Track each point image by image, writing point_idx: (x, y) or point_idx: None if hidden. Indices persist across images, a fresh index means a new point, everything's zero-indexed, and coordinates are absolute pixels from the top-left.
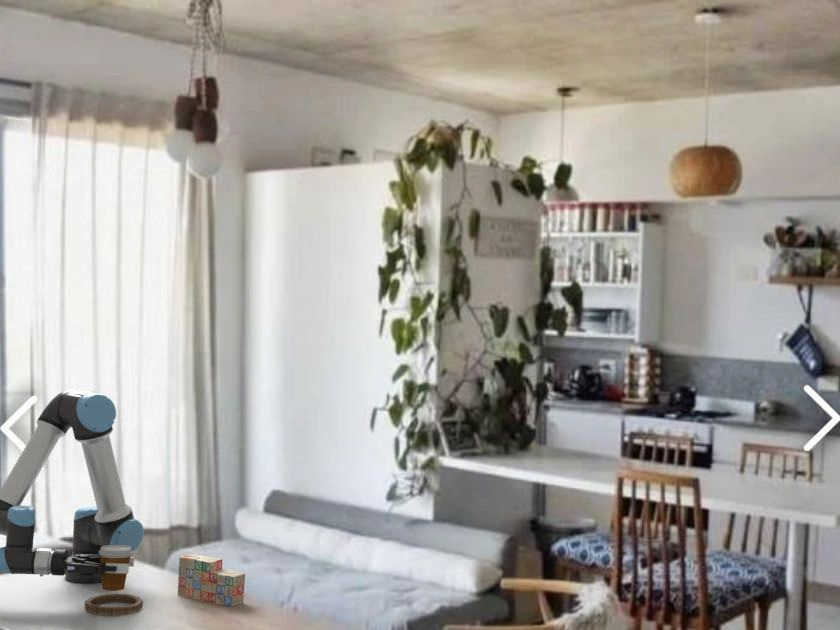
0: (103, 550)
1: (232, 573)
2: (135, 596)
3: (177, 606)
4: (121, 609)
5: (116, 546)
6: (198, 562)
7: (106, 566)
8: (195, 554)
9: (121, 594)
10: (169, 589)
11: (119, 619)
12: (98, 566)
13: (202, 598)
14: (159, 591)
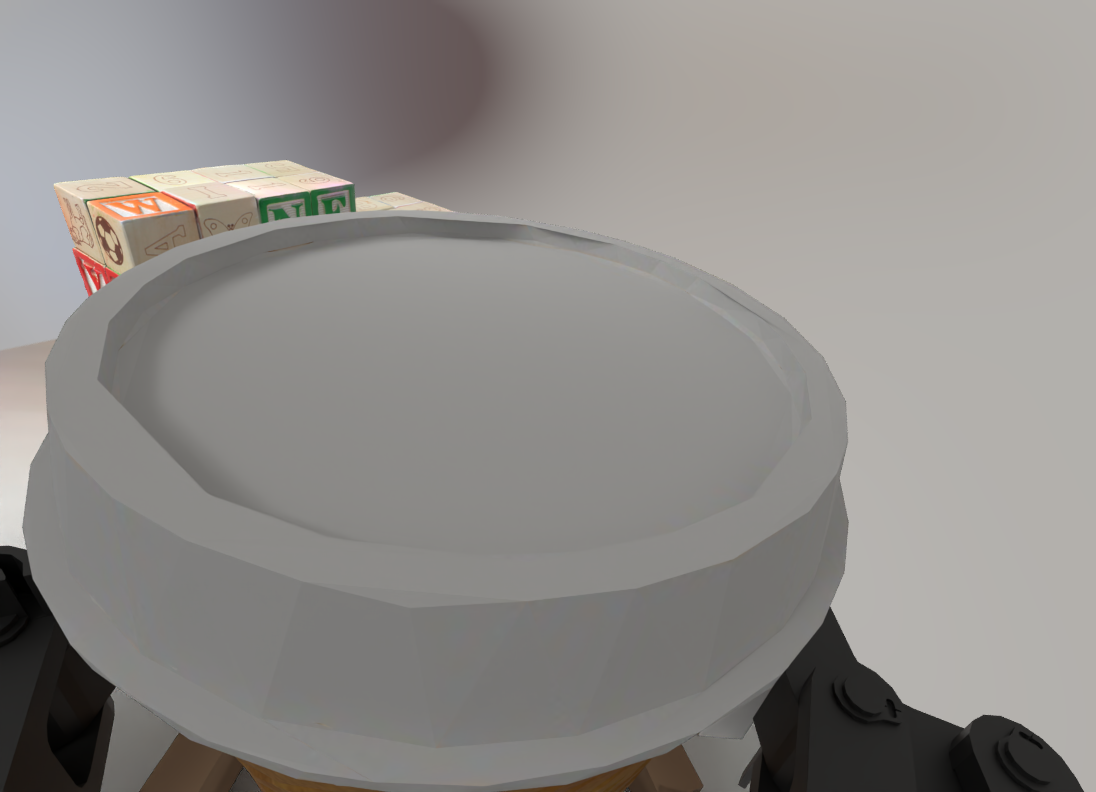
0: (812, 525)
1: (392, 206)
2: None
3: None
4: None
5: (186, 317)
6: (283, 206)
7: (839, 647)
8: (92, 180)
9: (176, 758)
10: (5, 469)
11: (754, 736)
12: (1069, 788)
13: None
14: (20, 517)
